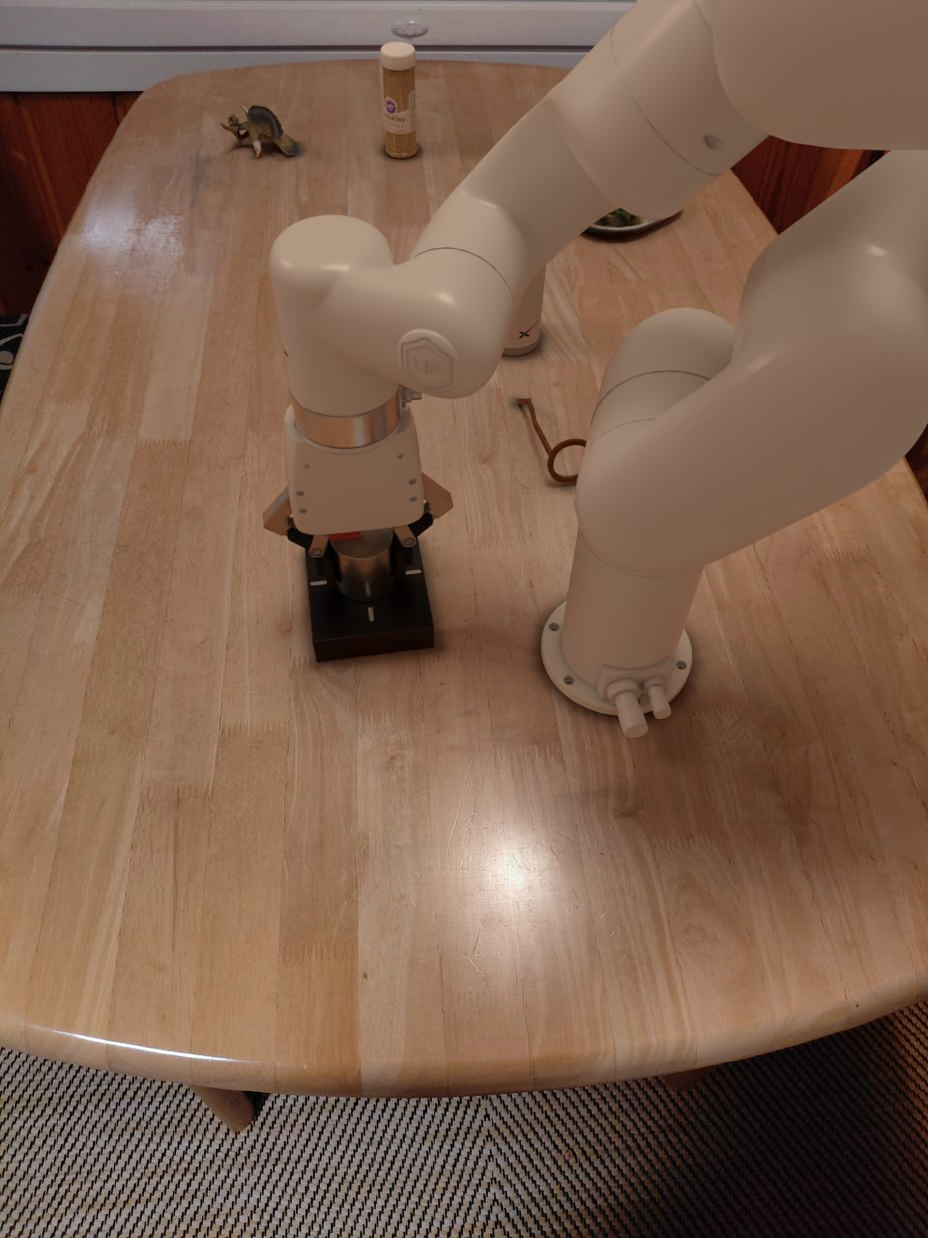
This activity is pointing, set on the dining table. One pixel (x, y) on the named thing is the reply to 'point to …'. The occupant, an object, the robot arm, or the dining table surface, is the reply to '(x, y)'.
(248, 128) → the brown horned dinosaur figurine
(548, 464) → the glasses
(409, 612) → the dial panel
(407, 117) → the sprinkles bottle
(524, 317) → the travel mug
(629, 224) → the avocado toast plate
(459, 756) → the dining table surface
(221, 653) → the dining table surface
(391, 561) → the program dial
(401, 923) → the dining table surface
